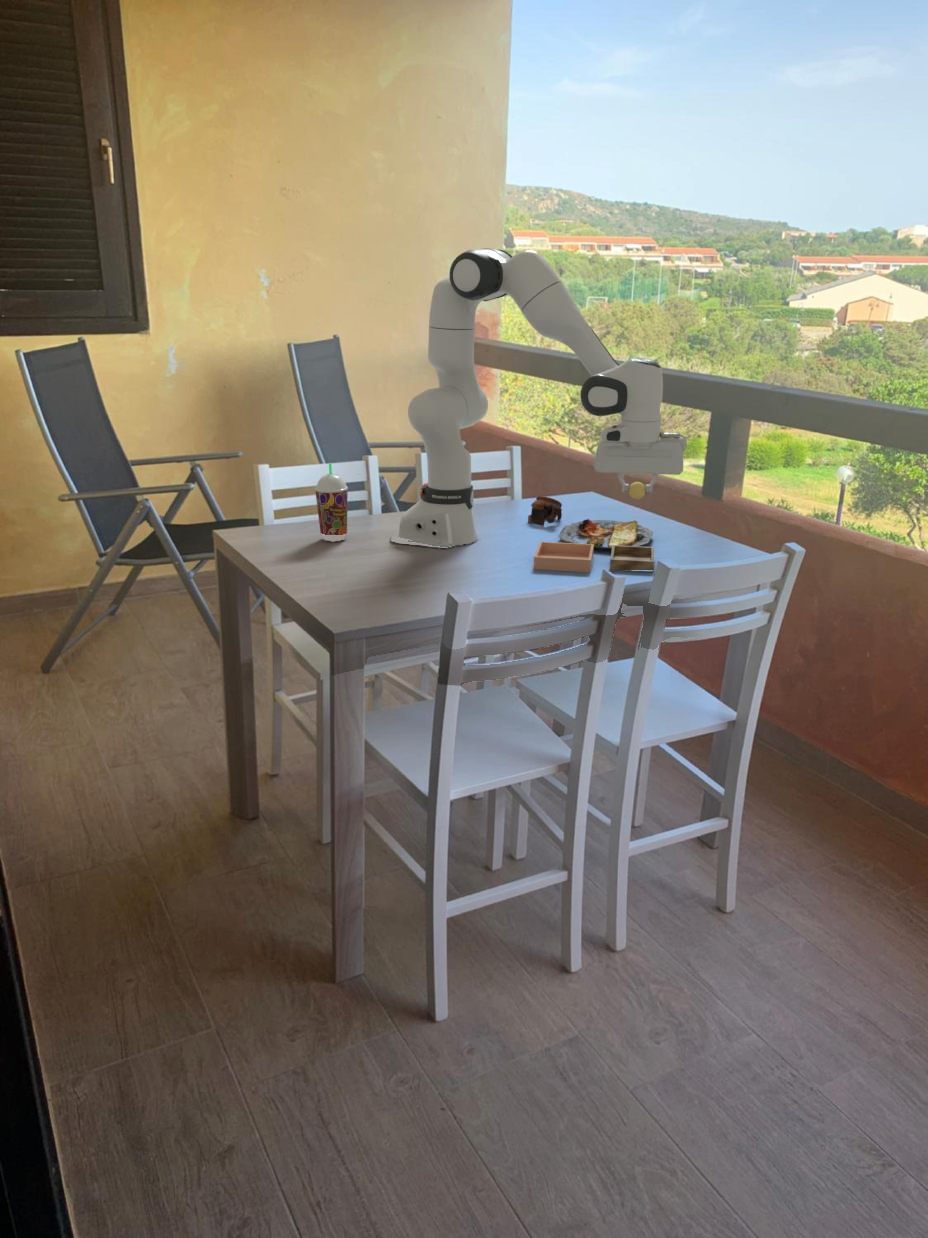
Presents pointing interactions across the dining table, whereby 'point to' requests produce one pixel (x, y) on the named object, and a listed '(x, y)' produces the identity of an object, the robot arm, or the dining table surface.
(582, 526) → the food plate
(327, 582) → the dining table surface
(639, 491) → the ball
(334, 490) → the smoothie
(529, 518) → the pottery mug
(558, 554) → the dish
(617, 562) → the tray
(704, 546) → the dining table surface
